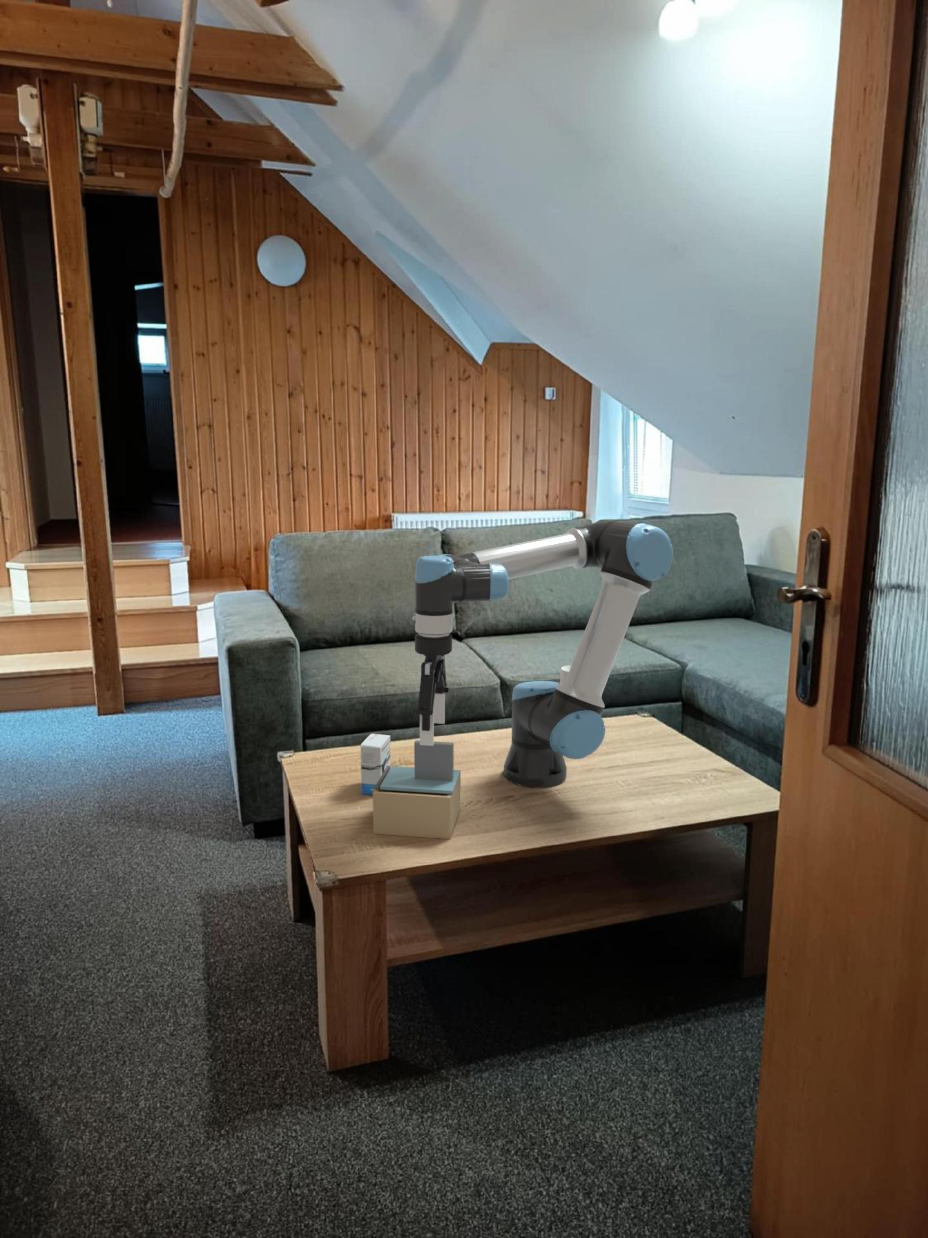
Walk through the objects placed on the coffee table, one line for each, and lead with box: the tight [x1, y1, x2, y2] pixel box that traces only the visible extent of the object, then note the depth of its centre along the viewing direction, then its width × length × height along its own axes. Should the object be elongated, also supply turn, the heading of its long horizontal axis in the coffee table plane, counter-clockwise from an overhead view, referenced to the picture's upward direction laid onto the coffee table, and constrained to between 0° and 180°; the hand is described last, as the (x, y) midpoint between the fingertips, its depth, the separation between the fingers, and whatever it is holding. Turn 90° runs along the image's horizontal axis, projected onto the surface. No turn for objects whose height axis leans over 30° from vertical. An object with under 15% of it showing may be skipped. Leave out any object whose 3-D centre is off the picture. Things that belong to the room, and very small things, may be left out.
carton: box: [372, 766, 462, 840], centre depth 180 cm, size 16×14×9 cm
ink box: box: [360, 733, 391, 796], centre depth 197 cm, size 8×5×12 cm, turn 168°
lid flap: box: [375, 740, 462, 794], centre depth 178 cm, size 16×11×9 cm
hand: (432, 733), depth 176 cm, fingers open, 13 cm apart
